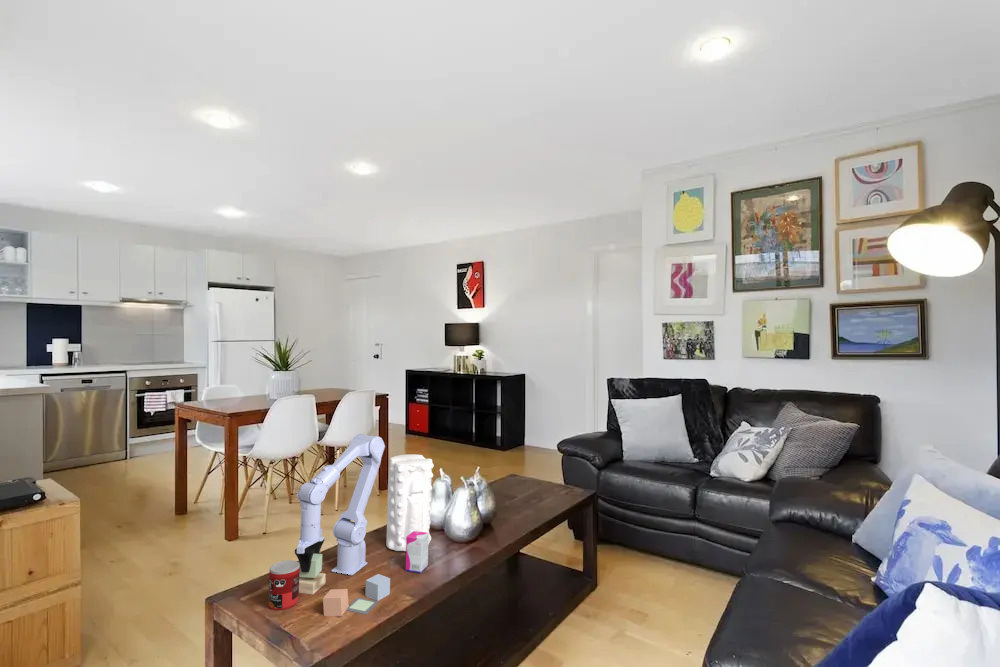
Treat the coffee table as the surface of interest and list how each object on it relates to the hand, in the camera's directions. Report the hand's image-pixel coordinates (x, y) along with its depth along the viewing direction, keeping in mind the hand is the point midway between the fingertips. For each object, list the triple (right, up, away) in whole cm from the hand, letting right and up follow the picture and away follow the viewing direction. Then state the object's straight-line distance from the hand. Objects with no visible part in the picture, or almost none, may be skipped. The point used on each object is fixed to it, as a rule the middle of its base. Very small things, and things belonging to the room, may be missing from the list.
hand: (309, 567), depth 154 cm
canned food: (-4, -6, -10) cm, 12 cm away
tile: (+19, -7, -10) cm, 22 cm away
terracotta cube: (+13, -6, -13) cm, 19 cm away
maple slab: (0, -7, 0) cm, 6 cm away
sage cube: (0, -2, 0) cm, 2 cm away
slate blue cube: (+22, -7, -4) cm, 23 cm away
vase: (+24, -7, +34) cm, 42 cm away
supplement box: (+30, -7, +15) cm, 35 cm away
